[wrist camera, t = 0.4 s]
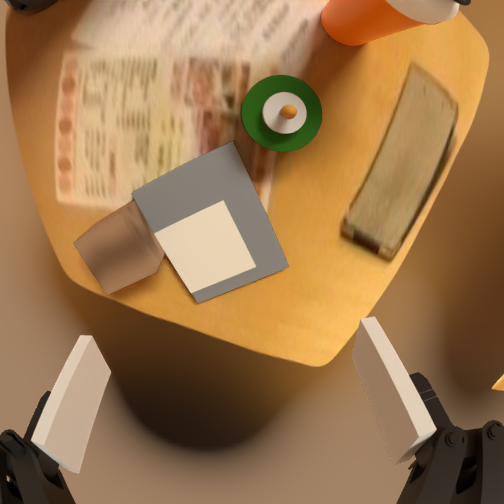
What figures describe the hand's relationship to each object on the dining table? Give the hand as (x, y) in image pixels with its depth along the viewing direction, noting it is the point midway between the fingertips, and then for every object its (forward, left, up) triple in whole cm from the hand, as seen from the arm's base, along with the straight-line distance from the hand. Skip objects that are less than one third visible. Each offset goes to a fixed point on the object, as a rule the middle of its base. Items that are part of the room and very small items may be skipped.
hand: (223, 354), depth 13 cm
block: (-2, -14, -26) cm, 30 cm away
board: (+2, -3, -26) cm, 26 cm away
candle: (-8, +10, -26) cm, 29 cm away
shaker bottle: (-17, +24, -26) cm, 39 cm away
